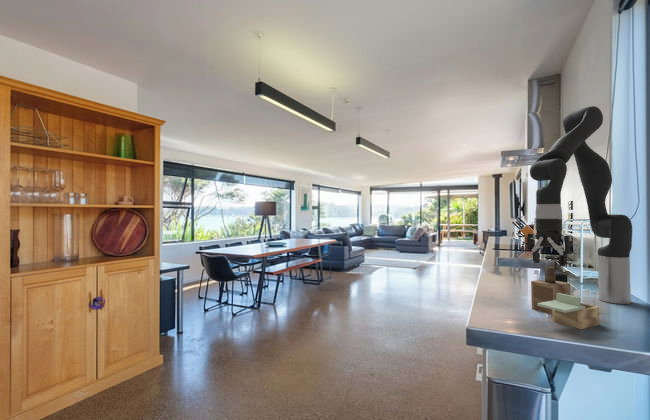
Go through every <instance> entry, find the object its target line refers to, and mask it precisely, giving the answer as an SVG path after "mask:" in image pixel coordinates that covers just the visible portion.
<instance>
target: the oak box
mask: <svg viewBox="0 0 650 420" xmlns="http://www.w3.org/2000/svg"><path fill="white" fill-rule="evenodd" d="M581 305H582V306H585V309H581V310H577V311H572V312H567V313H564V312H561V311H557V310H553V309H552V314H551V317H552V318H551V320H552V322H554V323H558V324H562V325H564V326H569V327H572V328H576V329H579V330H584V329H588V328H591V327H595V326H600V307H599V306H595V305H593V304H592V305H591V304H589V303H588V304H586V303H583V302H581Z"/></svg>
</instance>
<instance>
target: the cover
mask: <svg viewBox="0 0 650 420" xmlns="http://www.w3.org/2000/svg"><path fill="white" fill-rule="evenodd" d="M555 272H556V267H553V266H545V267H544V279H536V280H531V281H530V288H531V290H530V291H531V293H530V294H531V295H530V296H531V298H530V299H531V310H534V311H537V312H541V313H546V314H549V315H552V309H549V308H545V307H541V306H537V303H542V302H547V301H553V300H557V297H556V293H562V294H566V295H570V287H571V283H570V282H568V283H566V282H560V281H556V278H555Z"/></svg>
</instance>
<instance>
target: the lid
mask: <svg viewBox="0 0 650 420" xmlns="http://www.w3.org/2000/svg"><path fill="white" fill-rule="evenodd" d="M556 297H557V300H553V301H547V302H542V303H537V306H541V307H545V308H549V309H553V310H557V311H561V312H564V313H567V312H572V311H577V310H581V309H585V306H582V305H581V303H582V302H581V300H582V299H581V296H577V295H576V296H575V295H573V296H571V295H566V294H562V293H556Z"/></svg>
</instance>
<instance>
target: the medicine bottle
mask: <svg viewBox="0 0 650 420" xmlns="http://www.w3.org/2000/svg"><path fill="white" fill-rule="evenodd" d="M555 278H556V281H560V282H566V283H569V281H568V274H567V273H565V272H560V271H555ZM570 295H571V296H574V288H573V287H571V286H570Z"/></svg>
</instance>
